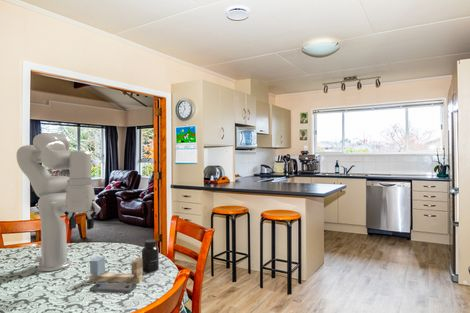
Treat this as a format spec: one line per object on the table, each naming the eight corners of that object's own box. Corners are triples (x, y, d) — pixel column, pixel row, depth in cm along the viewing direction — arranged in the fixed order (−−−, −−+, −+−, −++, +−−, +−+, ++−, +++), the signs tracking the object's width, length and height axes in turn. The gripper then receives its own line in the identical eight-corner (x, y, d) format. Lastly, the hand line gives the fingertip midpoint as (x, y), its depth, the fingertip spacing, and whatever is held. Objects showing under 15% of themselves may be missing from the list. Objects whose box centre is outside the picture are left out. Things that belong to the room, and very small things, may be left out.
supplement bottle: (154, 273, 127) (153, 243, 127) (138, 272, 128) (138, 242, 128) (161, 267, 134) (161, 239, 134) (146, 266, 135) (146, 238, 135)
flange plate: (89, 291, 111) (89, 287, 111) (97, 285, 116) (97, 282, 116) (130, 292, 109) (130, 289, 109) (136, 286, 114) (136, 283, 114)
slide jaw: (82, 281, 114) (81, 265, 114) (97, 271, 124) (97, 256, 124) (89, 281, 114) (89, 265, 114) (104, 271, 123) (104, 256, 123)
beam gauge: (79, 287, 114) (79, 265, 114) (95, 276, 124) (95, 256, 124) (132, 289, 111) (131, 267, 111) (143, 278, 121) (143, 257, 121)
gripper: (53, 183, 120) (54, 230, 120) (96, 183, 117) (96, 231, 117) (66, 181, 127) (67, 226, 127) (106, 181, 125) (107, 226, 125)
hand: (81, 228), depth 122 cm, fingers open, 6 cm apart
